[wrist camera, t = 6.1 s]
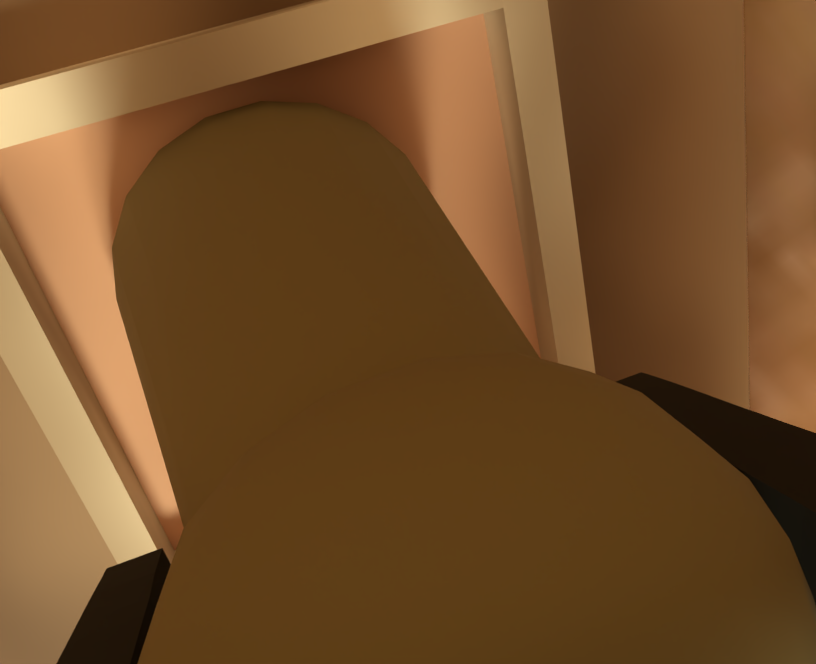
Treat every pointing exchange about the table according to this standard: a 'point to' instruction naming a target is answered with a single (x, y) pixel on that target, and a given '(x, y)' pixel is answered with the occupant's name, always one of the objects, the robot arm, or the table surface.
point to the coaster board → (434, 162)
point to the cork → (407, 436)
